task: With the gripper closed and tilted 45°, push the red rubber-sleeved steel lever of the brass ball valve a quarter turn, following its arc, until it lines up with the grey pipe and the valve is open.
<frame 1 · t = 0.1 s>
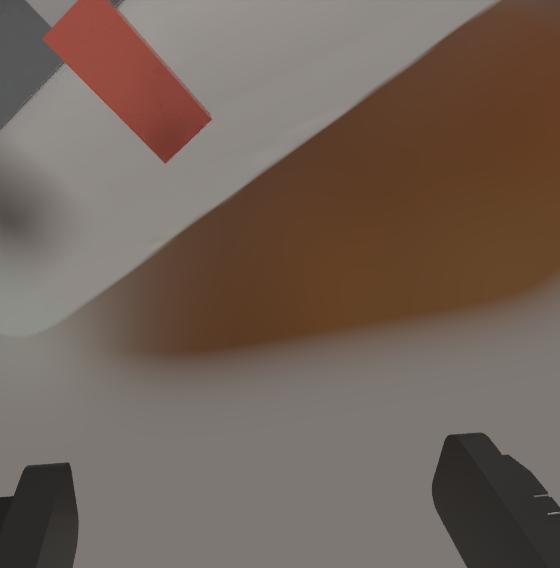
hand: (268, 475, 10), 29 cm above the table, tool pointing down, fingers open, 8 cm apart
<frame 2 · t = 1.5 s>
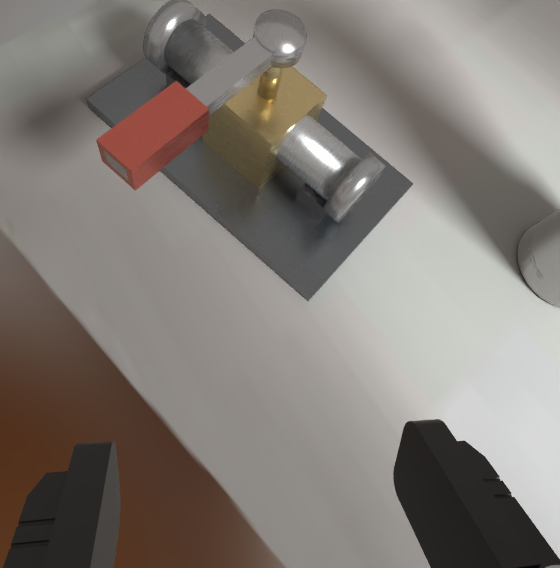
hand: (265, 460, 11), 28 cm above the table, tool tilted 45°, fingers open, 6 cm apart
valve body: (254, 150, 47), on the table
valve lever: (214, 89, 32), point 13 cm above the table, hinge at 45.0°
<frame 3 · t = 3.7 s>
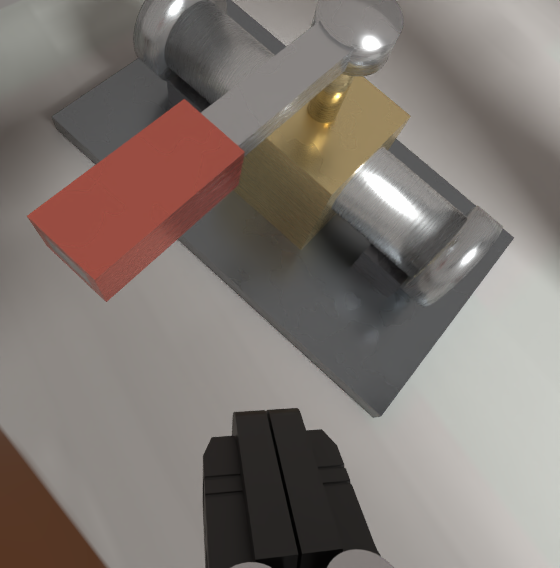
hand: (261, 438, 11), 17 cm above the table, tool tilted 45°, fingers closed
valve body: (291, 189, 33), on the table
valve lever: (250, 113, 18), point 14 cm above the table, hinge at 45.0°
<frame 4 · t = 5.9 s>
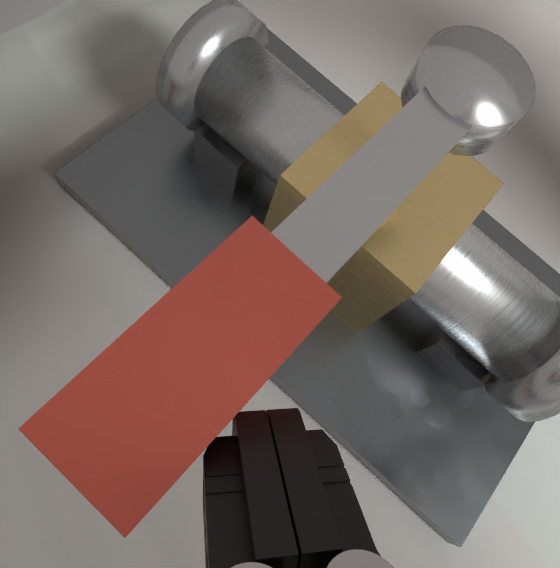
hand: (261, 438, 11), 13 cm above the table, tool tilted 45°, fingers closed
valve body: (339, 253, 28), on the table
valve lever: (336, 222, 13), point 13 cm above the table, hinge at 44.2°, touching gripper
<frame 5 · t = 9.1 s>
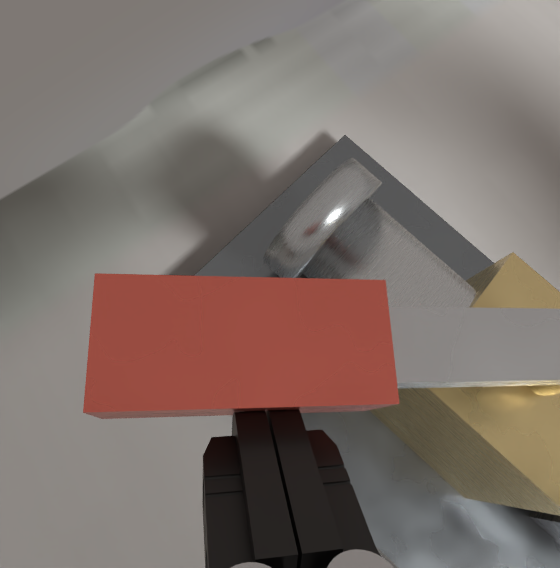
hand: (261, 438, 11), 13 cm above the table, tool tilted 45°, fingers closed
valve body: (436, 395, 26), on the table
valve lever: (450, 348, 12), point 13 cm above the table, hinge at -1.3°, touching gripper
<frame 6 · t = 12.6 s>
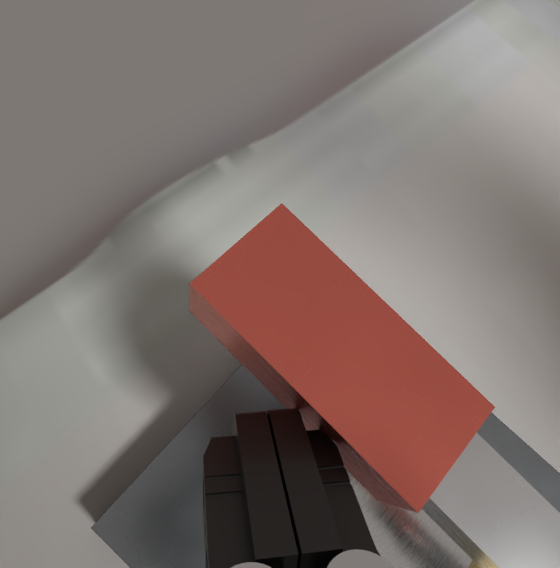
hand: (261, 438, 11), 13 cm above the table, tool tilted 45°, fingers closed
valve lever: (500, 522, 11), point 13 cm above the table, hinge at -47.3°, touching gripper
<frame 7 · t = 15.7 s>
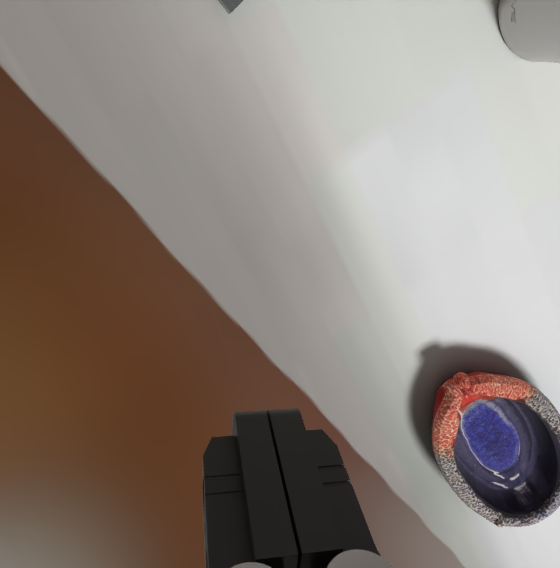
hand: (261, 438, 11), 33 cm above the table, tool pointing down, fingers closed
dish: (488, 432, 62), on the table
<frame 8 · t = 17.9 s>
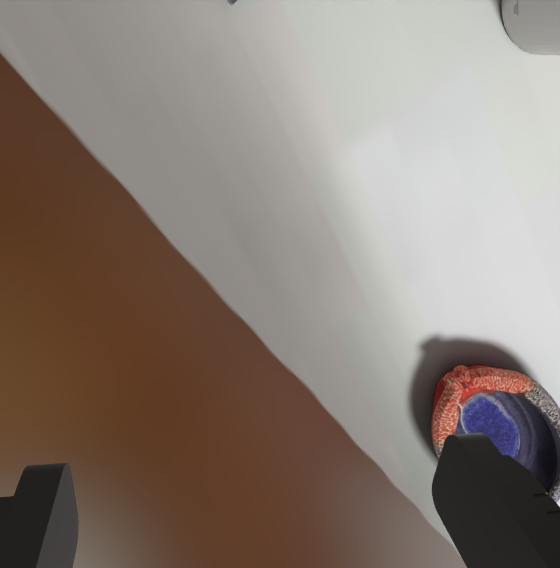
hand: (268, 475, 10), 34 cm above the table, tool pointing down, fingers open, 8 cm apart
dish: (488, 425, 62), on the table
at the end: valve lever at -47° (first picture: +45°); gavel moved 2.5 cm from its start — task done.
